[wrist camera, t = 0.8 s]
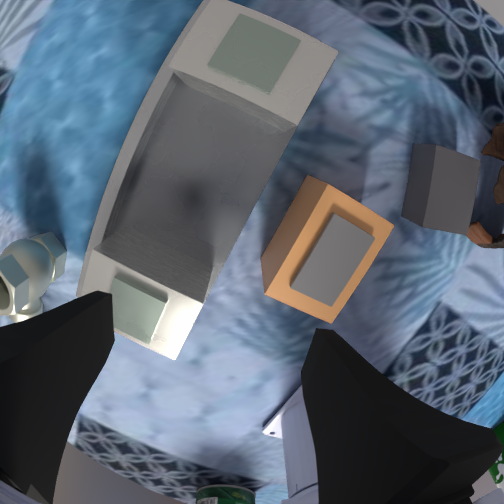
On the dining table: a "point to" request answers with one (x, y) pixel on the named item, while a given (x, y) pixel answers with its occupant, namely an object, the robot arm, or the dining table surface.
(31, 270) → the valve
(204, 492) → the canned tomato
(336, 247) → the orange module
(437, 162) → the dark gray block
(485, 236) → the knobbed brown ring
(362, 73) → the dining table surface
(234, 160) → the rail plate
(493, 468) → the milk carton
